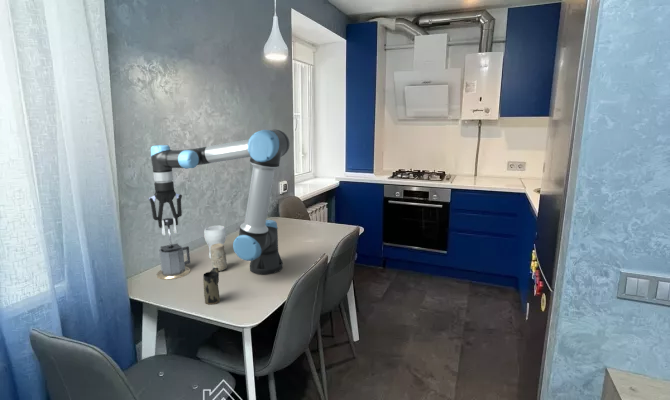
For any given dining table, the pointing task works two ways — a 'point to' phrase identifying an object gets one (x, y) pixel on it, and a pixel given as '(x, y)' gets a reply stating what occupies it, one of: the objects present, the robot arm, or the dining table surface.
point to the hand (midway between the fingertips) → (169, 233)
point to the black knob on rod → (167, 223)
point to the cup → (214, 236)
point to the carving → (218, 256)
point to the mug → (211, 286)
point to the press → (173, 262)
